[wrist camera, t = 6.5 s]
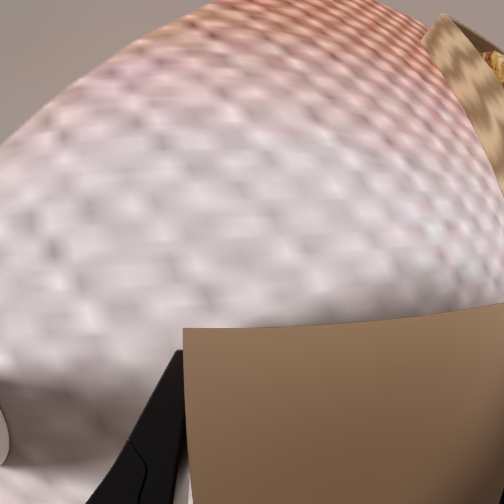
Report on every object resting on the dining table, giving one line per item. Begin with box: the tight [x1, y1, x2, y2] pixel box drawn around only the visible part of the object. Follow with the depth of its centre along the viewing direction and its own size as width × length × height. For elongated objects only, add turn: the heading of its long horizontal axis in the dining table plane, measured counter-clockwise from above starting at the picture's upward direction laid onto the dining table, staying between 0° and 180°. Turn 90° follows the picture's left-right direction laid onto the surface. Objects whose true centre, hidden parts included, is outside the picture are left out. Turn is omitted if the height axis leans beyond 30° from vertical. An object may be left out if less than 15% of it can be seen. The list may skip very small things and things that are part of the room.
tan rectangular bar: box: [183, 303, 504, 504], centre depth 8 cm, size 4×4×14 cm
